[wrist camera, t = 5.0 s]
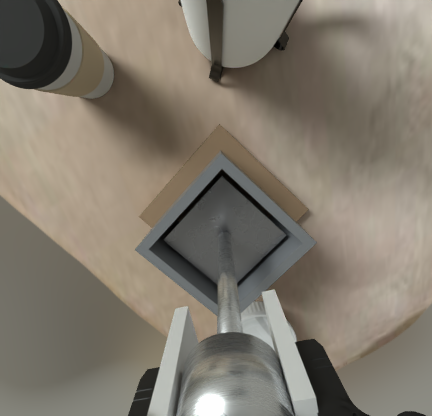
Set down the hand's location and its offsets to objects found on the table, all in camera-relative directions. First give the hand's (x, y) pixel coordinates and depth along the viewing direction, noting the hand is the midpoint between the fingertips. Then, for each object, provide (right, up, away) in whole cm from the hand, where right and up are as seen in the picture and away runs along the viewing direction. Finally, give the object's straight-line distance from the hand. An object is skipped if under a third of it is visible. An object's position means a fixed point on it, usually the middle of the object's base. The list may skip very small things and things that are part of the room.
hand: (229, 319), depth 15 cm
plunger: (0, +3, +14) cm, 15 cm away
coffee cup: (-18, +25, +21) cm, 38 cm away
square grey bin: (0, +6, +25) cm, 26 cm away
